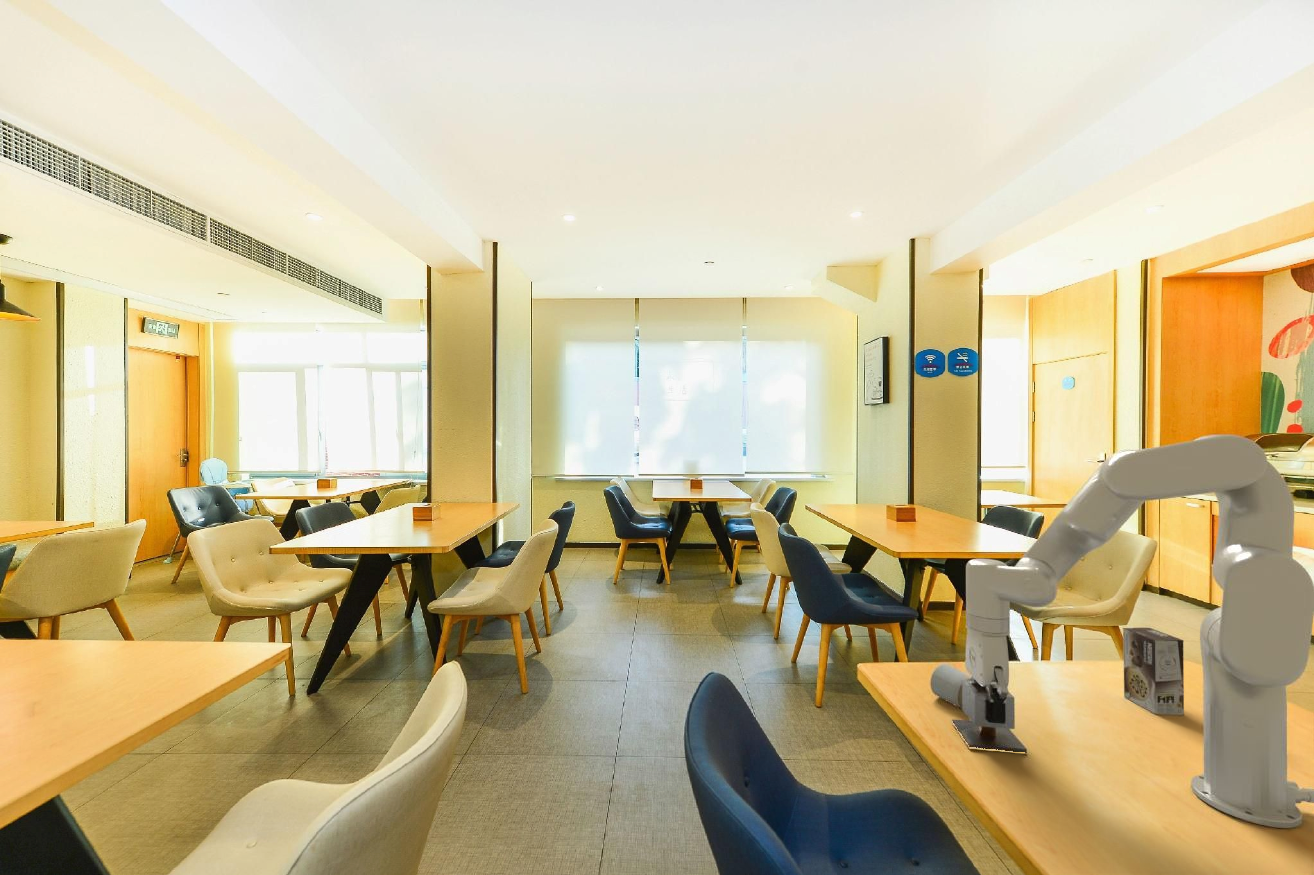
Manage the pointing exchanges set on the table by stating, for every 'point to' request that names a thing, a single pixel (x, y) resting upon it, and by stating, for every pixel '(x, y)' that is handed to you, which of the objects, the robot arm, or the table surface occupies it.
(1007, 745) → the post
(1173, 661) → the coffee box
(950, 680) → the ceramic mug
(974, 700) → the grey square open box
